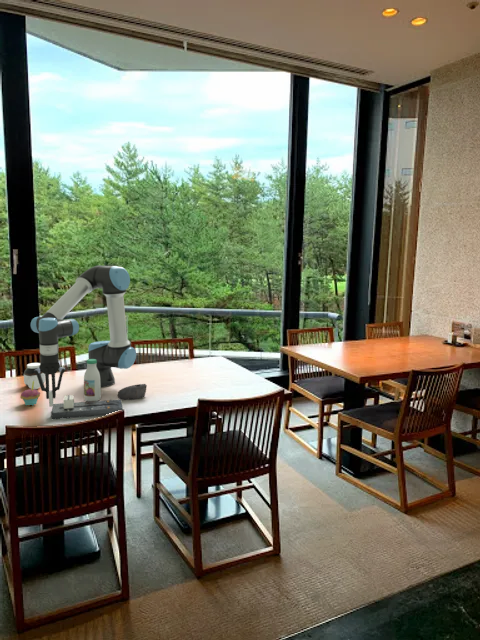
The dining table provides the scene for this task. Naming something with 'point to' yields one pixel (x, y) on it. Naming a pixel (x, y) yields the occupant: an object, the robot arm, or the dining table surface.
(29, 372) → the spread jar
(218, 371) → the dining table surface
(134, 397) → the perforated stone tool
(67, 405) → the fader knob
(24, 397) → the cupcake
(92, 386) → the milk bottle
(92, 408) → the fader console
